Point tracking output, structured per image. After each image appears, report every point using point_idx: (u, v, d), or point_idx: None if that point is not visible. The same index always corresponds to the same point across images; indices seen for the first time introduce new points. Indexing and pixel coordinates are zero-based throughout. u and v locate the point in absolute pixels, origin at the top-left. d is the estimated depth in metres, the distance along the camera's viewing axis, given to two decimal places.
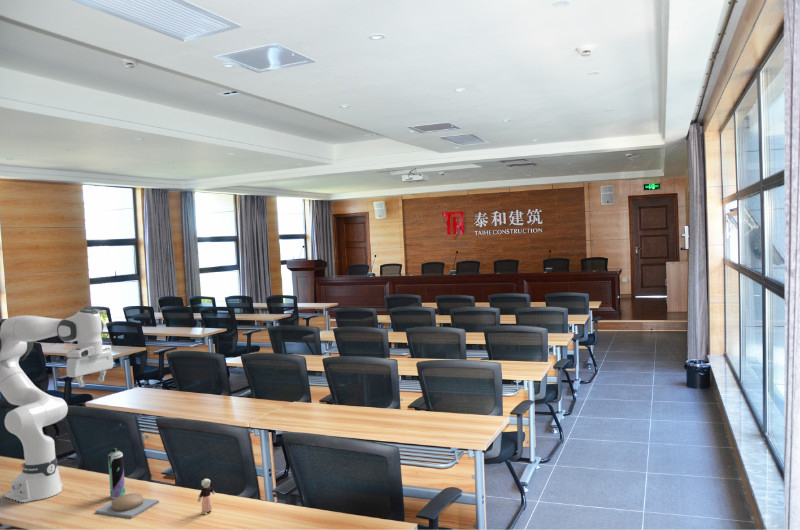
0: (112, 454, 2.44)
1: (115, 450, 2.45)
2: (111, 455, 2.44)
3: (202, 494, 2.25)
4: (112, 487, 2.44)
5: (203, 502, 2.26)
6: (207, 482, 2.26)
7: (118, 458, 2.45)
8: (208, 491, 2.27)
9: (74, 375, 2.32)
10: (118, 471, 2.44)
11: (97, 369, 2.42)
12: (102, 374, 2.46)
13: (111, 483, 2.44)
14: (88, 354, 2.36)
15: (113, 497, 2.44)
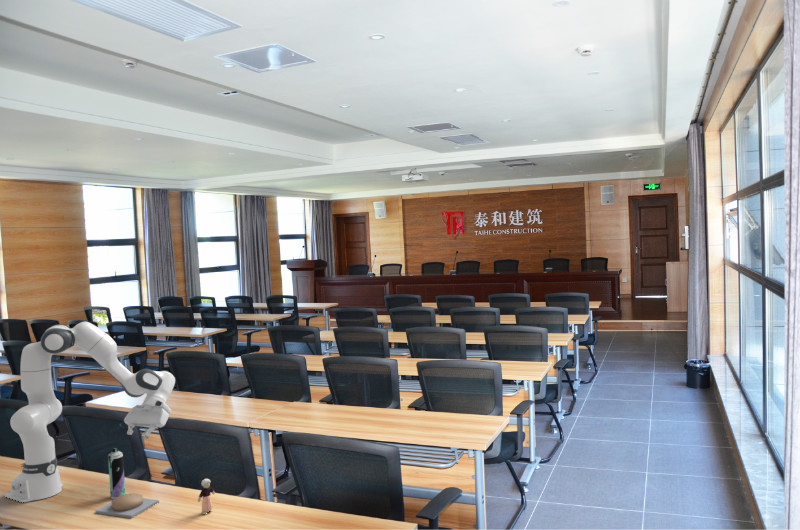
0: (112, 454, 2.44)
1: (115, 450, 2.45)
2: (111, 455, 2.44)
3: (202, 494, 2.25)
4: (112, 487, 2.44)
5: (203, 502, 2.26)
6: (207, 482, 2.26)
7: (118, 458, 2.45)
8: (208, 491, 2.27)
9: None
10: (118, 471, 2.44)
11: None
12: (131, 428, 2.61)
13: (111, 483, 2.44)
14: None
15: (113, 497, 2.44)
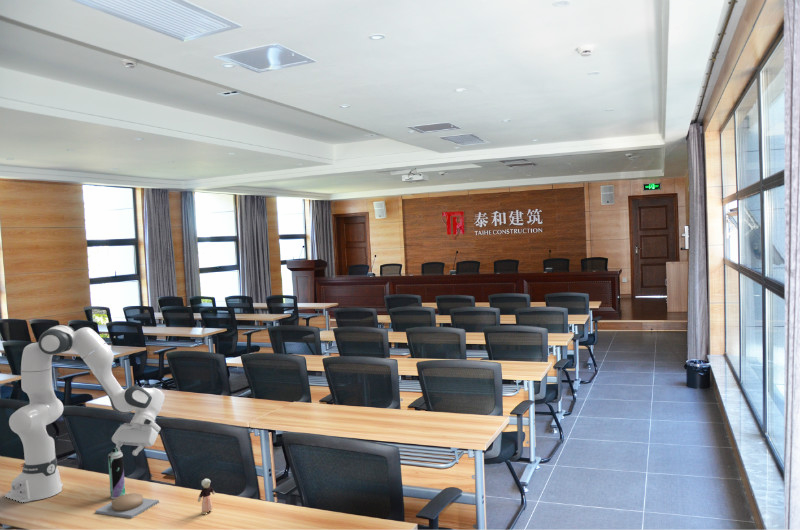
0: (112, 454, 2.44)
1: (115, 450, 2.45)
2: (111, 455, 2.44)
3: (202, 494, 2.25)
4: (112, 487, 2.44)
5: (203, 502, 2.26)
6: (207, 482, 2.26)
7: (118, 458, 2.45)
8: (208, 491, 2.27)
9: (151, 445, 2.52)
10: (118, 471, 2.44)
11: None
12: (119, 447, 2.55)
13: (111, 483, 2.44)
14: None
15: (113, 497, 2.44)
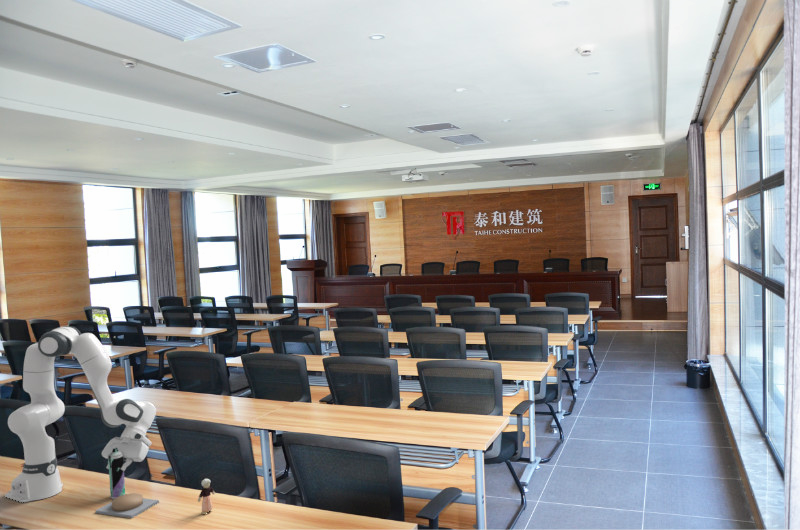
0: (112, 454, 2.44)
1: (115, 450, 2.45)
2: (111, 455, 2.44)
3: (202, 494, 2.25)
4: (112, 487, 2.44)
5: (203, 502, 2.26)
6: (207, 482, 2.26)
7: (118, 458, 2.45)
8: (208, 491, 2.27)
9: (142, 460, 2.47)
10: (118, 471, 2.44)
11: None
12: None
13: (111, 483, 2.44)
14: None
15: (113, 497, 2.44)
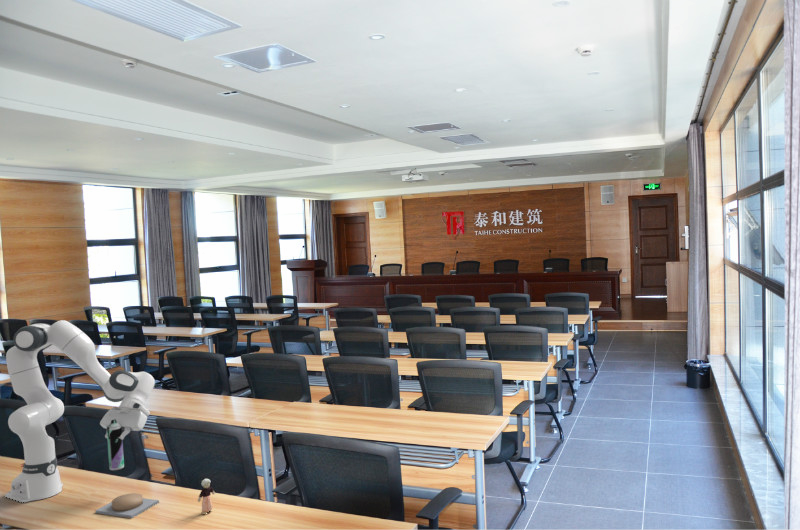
0: (110, 425, 2.44)
1: (114, 421, 2.45)
2: (110, 426, 2.43)
3: (202, 494, 2.25)
4: (111, 458, 2.43)
5: (203, 502, 2.26)
6: (207, 482, 2.26)
7: (117, 429, 2.44)
8: (208, 491, 2.27)
9: (140, 429, 2.46)
10: (117, 442, 2.44)
11: None
12: None
13: (110, 455, 2.43)
14: None
15: (112, 468, 2.43)
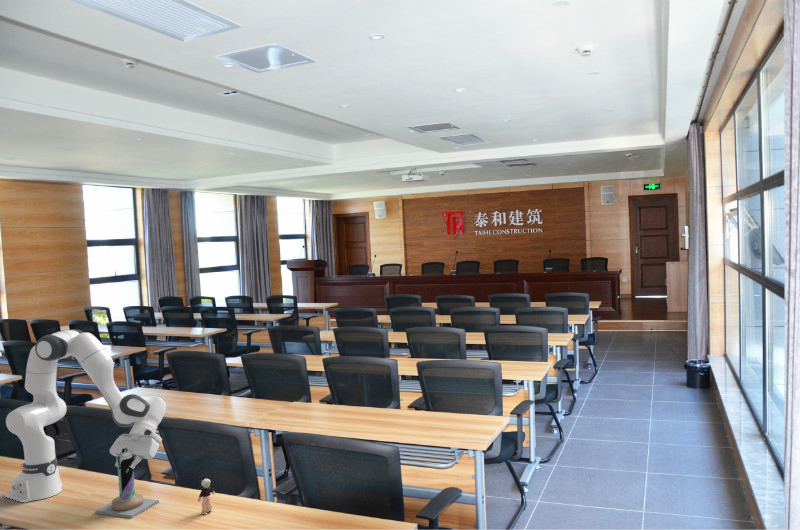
0: (121, 454, 2.32)
1: (124, 450, 2.33)
2: (120, 455, 2.32)
3: (202, 494, 2.25)
4: (122, 489, 2.32)
5: (203, 502, 2.26)
6: (207, 482, 2.26)
7: (128, 459, 2.32)
8: (208, 491, 2.27)
9: (152, 457, 2.35)
10: (128, 472, 2.32)
11: None
12: None
13: (120, 485, 2.32)
14: None
15: (122, 500, 2.32)
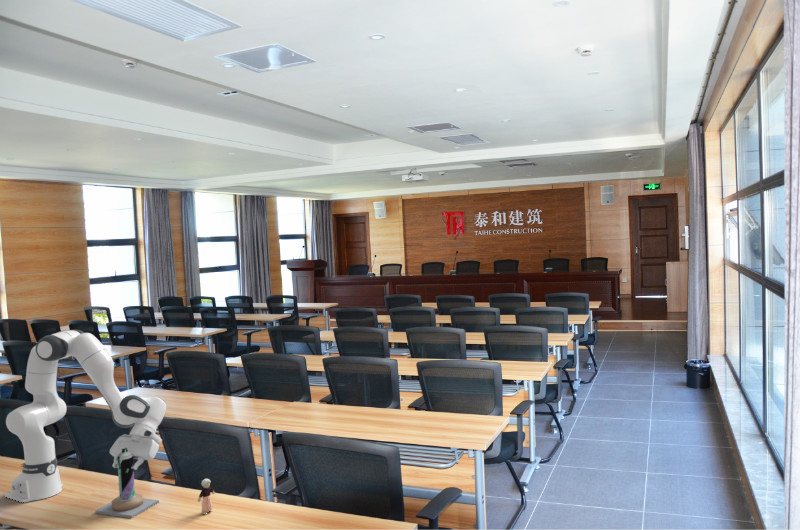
0: (121, 454, 2.32)
1: (124, 450, 2.33)
2: (120, 455, 2.32)
3: (202, 494, 2.25)
4: (122, 489, 2.32)
5: (203, 502, 2.26)
6: (207, 482, 2.26)
7: (128, 459, 2.32)
8: (208, 491, 2.27)
9: (152, 458, 2.35)
10: (128, 472, 2.32)
11: None
12: None
13: (120, 485, 2.32)
14: None
15: (122, 500, 2.32)
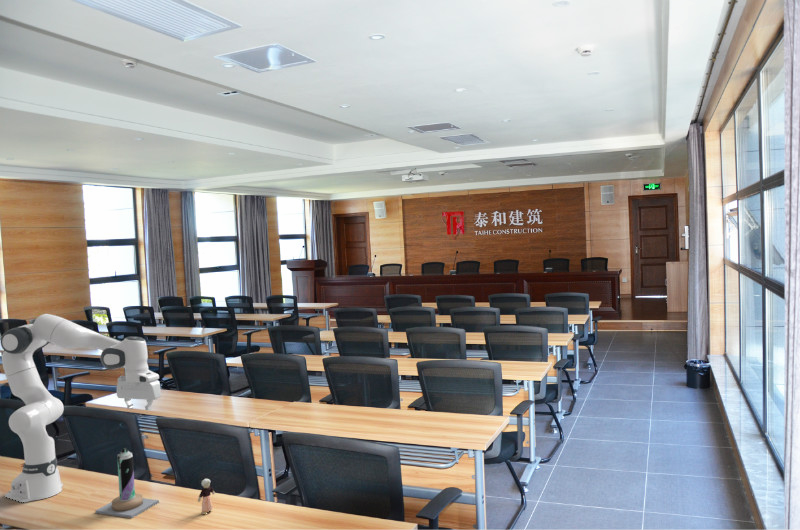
0: (121, 454, 2.32)
1: (124, 450, 2.33)
2: (120, 455, 2.32)
3: (202, 494, 2.25)
4: (122, 489, 2.32)
5: (203, 502, 2.26)
6: (207, 482, 2.26)
7: (128, 459, 2.32)
8: (208, 491, 2.27)
9: None
10: (128, 472, 2.32)
11: None
12: (129, 401, 2.49)
13: (120, 485, 2.32)
14: None
15: (122, 500, 2.32)
